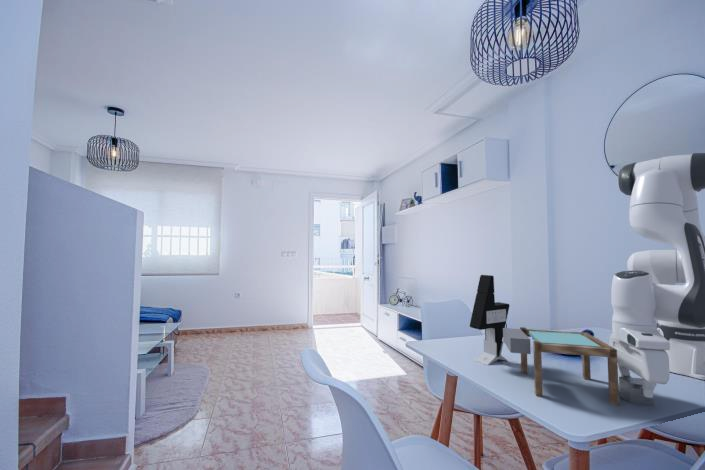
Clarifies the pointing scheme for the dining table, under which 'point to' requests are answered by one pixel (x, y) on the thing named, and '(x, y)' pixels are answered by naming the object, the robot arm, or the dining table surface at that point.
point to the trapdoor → (541, 339)
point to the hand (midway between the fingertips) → (636, 388)
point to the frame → (575, 350)
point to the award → (489, 320)
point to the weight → (634, 391)
